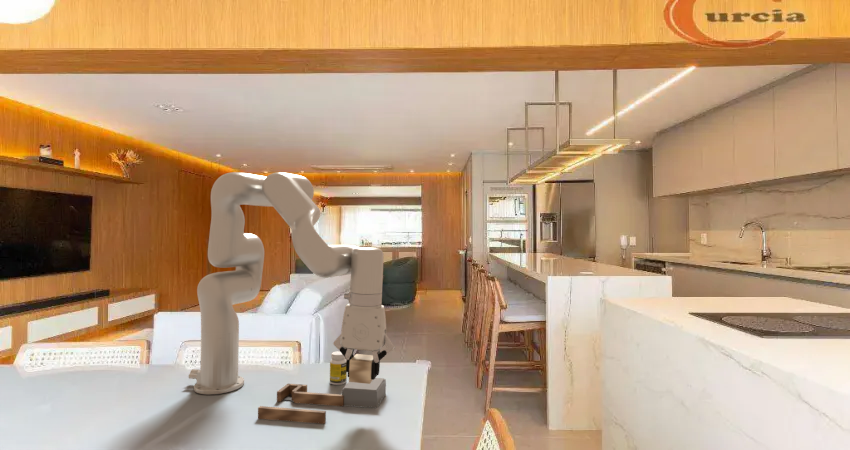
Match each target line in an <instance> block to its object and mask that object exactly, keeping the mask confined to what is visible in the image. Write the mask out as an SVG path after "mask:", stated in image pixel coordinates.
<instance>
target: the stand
mask: <svg viewBox="0 0 850 450" xmlns="http://www.w3.org/2000/svg"><path fill="white" fill-rule="evenodd" d="M386 384H387V381H386V378H383V377H382V378H381V377H376V378H375V379H374V380H372V382H371V383H370V384H366V383H356V382H349V381H348V382H347V383H346V384H345V385H344V387H342V389H341V395H343V396H344V406H343V407H357V408H358V407H360V408H371V409H377V408H379V406H380V404H381V402H382V401H383V400H384V397H385V396H386V395H387V394H386V390H387V388H386V386H387V385H386Z"/></svg>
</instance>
